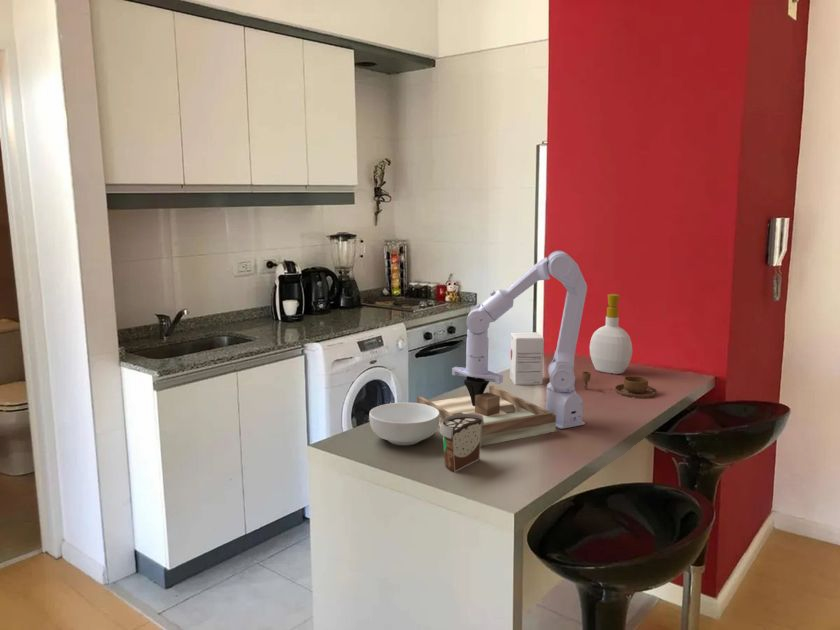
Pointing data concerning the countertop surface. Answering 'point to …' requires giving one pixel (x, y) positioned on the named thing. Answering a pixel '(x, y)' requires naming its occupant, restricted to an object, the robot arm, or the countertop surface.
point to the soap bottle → (611, 343)
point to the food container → (461, 440)
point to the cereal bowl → (404, 422)
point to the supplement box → (526, 358)
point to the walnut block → (487, 404)
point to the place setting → (628, 386)
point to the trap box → (500, 416)
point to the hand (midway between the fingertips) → (476, 405)
